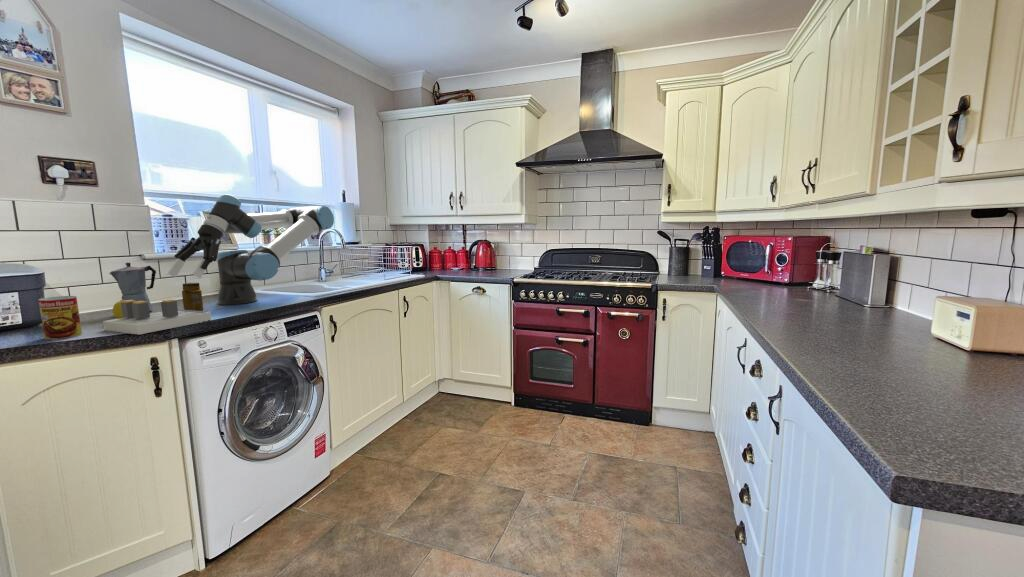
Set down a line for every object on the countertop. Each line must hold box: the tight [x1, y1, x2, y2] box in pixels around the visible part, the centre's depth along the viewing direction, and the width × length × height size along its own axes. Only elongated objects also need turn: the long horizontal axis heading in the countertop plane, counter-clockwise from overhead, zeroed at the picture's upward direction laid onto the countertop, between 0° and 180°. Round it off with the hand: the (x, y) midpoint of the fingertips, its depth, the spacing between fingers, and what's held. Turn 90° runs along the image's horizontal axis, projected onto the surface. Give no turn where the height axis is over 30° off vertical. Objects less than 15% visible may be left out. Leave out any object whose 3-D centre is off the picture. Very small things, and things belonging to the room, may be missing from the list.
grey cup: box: [132, 301, 151, 319], centre depth 137 cm, size 3×3×6 cm
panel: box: [103, 308, 212, 336], centre depth 142 cm, size 22×18×3 cm
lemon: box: [112, 299, 125, 319], centre depth 147 cm, size 6×6×8 cm
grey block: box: [160, 299, 179, 317], centre depth 140 cm, size 3×3×6 cm
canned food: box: [37, 295, 83, 340], centre depth 127 cm, size 8×8×12 cm
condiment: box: [181, 282, 204, 311], centre depth 161 cm, size 7×8×12 cm
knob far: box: [121, 300, 136, 318], centre depth 139 cm, size 3×3×6 cm
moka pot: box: [108, 262, 157, 312], centre depth 165 cm, size 10×15×20 cm, turn 166°
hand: (183, 275), depth 155 cm, fingers open, 13 cm apart
